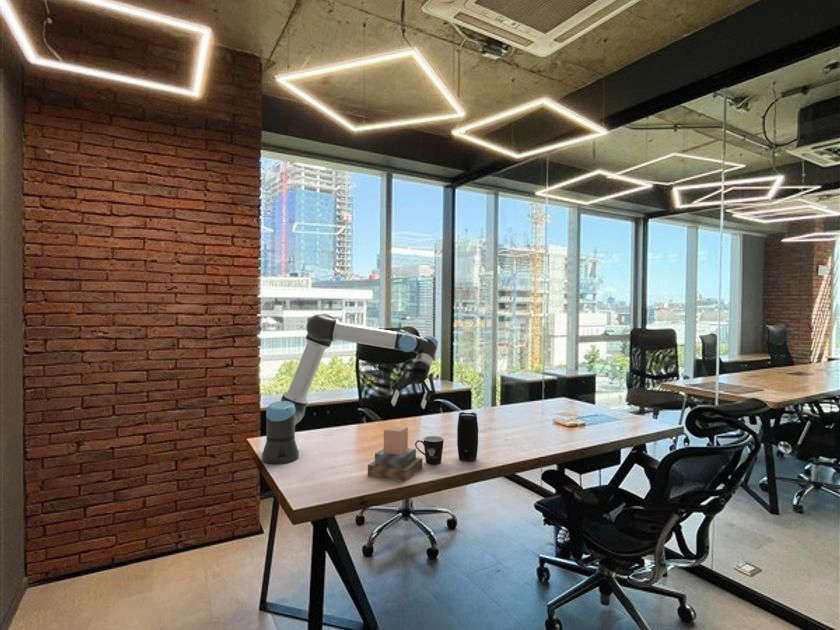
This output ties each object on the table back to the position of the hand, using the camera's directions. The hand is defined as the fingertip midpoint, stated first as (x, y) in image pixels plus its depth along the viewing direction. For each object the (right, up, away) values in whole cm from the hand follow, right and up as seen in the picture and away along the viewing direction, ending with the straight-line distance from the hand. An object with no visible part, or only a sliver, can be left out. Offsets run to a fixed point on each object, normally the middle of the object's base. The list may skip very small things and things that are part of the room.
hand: (407, 405), depth 187 cm
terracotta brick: (-4, -16, -10) cm, 19 cm away
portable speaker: (+26, -25, +7) cm, 36 cm away
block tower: (-4, -24, -10) cm, 26 cm away
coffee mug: (+10, -24, +3) cm, 26 cm away
